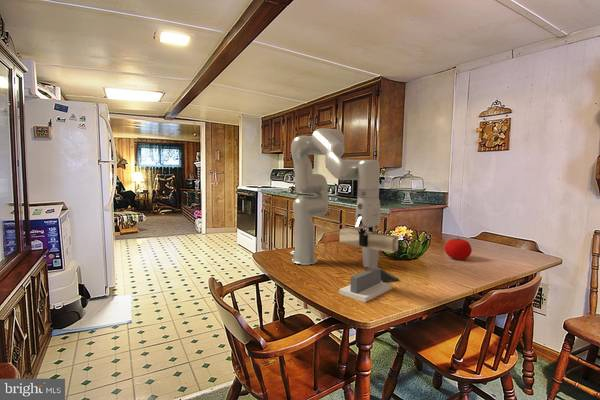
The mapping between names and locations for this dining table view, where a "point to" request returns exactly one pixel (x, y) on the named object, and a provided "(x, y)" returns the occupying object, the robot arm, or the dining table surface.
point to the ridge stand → (366, 285)
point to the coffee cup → (370, 257)
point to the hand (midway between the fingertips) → (366, 244)
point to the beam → (370, 240)
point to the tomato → (458, 249)
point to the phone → (387, 277)
